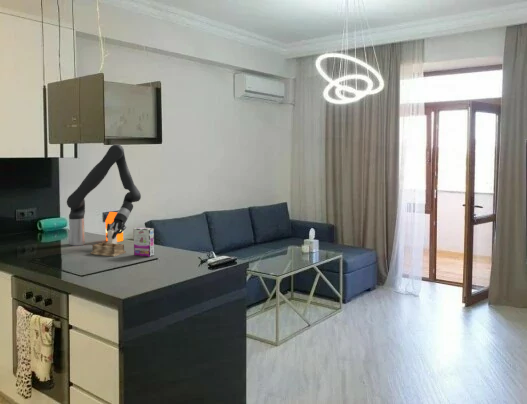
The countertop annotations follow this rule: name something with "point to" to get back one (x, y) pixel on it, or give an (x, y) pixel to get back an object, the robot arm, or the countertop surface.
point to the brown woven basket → (108, 249)
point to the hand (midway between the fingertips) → (110, 237)
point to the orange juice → (109, 220)
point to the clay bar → (110, 240)
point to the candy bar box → (144, 242)
